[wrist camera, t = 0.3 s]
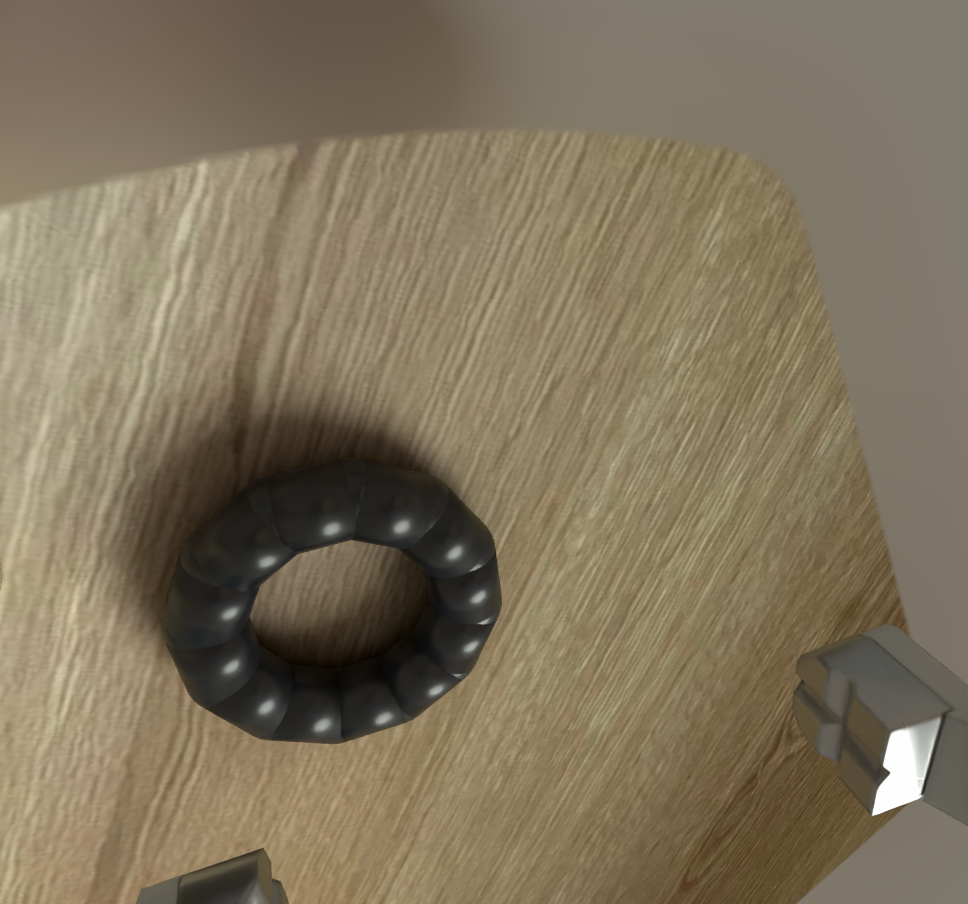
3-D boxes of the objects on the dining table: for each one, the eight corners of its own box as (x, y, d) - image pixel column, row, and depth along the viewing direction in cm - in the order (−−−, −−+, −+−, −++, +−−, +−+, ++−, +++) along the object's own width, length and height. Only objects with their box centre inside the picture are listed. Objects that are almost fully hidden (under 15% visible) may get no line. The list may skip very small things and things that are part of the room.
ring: (118, 496, 22) (104, 543, 19) (468, 413, 24) (491, 447, 22) (224, 740, 27) (223, 797, 25) (500, 654, 29) (522, 700, 27)
